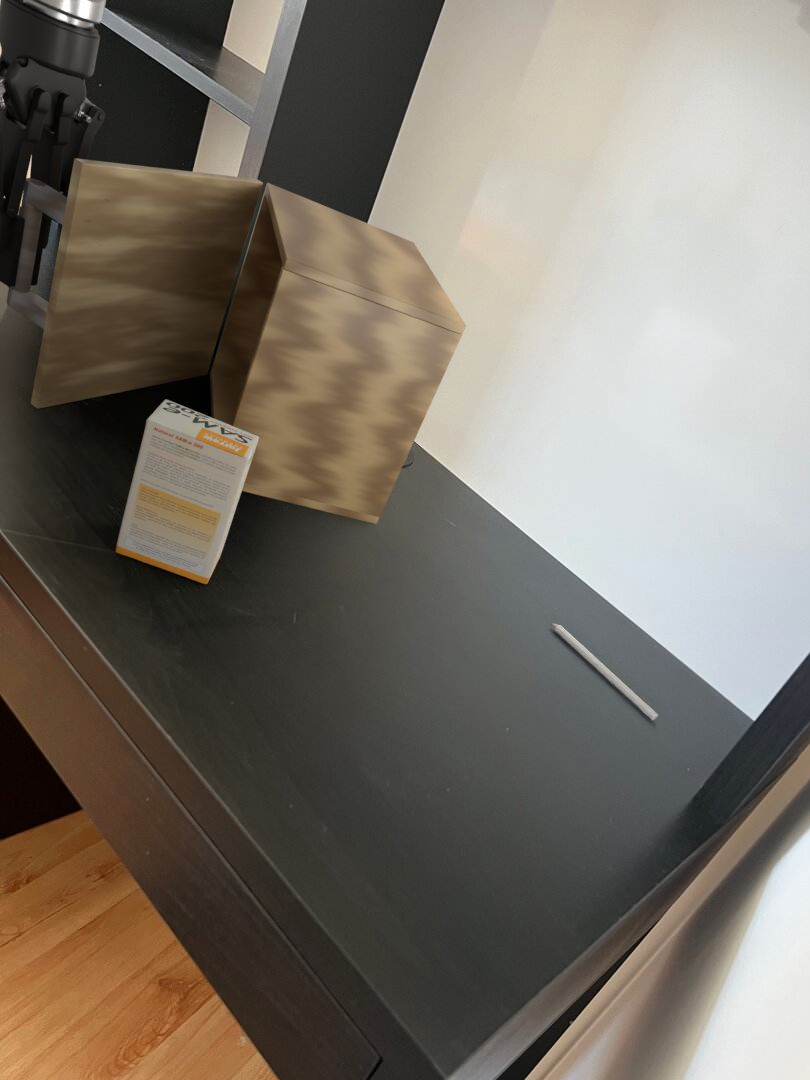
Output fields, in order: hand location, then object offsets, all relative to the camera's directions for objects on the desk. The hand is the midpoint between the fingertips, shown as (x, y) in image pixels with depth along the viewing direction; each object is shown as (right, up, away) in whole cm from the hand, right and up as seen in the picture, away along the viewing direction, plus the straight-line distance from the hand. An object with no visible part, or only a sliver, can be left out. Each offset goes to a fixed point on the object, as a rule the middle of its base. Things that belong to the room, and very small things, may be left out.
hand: (12, 278), depth 82 cm
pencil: (+58, -39, +7) cm, 70 cm away
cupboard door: (+4, -6, +13) cm, 15 cm away
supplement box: (+18, -27, -8) cm, 34 cm away
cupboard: (+23, -13, +18) cm, 32 cm away
